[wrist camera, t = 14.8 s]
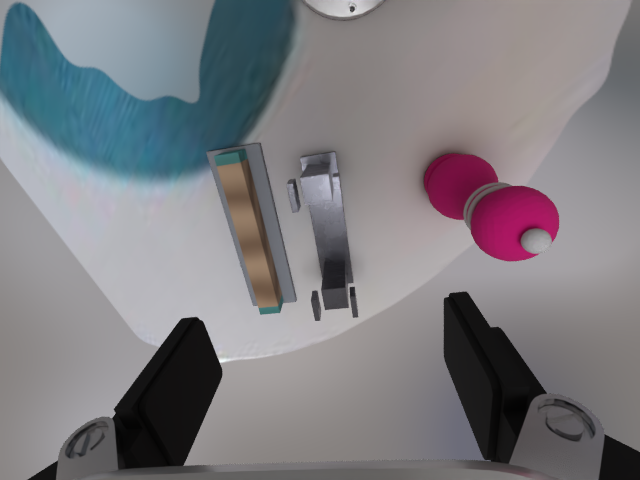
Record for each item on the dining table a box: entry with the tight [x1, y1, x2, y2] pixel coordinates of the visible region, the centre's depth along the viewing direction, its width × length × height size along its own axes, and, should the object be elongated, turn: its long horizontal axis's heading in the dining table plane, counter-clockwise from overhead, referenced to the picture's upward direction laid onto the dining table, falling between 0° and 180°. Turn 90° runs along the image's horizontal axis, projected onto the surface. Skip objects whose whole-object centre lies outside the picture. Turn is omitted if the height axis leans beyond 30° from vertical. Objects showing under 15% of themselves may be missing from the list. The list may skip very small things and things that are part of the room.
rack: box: [287, 152, 358, 321], centre depth 38 cm, size 19×5×10 cm, turn 9°
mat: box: [206, 143, 297, 306], centre depth 43 cm, size 24×7×1 cm, turn 9°
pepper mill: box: [424, 153, 559, 261], centre depth 30 cm, size 7×7×20 cm
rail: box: [214, 149, 284, 315], centre depth 42 cm, size 23×3×3 cm, turn 9°
